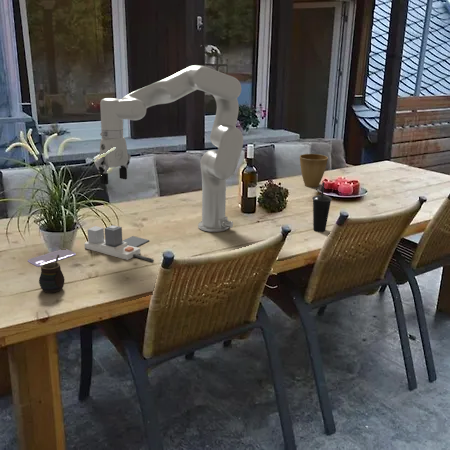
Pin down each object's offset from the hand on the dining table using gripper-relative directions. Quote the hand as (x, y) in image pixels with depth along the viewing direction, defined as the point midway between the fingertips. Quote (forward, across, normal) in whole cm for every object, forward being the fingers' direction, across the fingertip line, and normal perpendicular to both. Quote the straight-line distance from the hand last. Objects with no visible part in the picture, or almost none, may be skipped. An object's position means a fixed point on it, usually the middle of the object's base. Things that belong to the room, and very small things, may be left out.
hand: (114, 181), depth 188 cm
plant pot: (+22, +121, -28) cm, 126 cm away
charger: (+21, -8, -7) cm, 24 cm away
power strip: (+23, -8, -10) cm, 27 cm away
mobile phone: (+24, -25, +6) cm, 35 cm away
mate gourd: (+24, -41, -13) cm, 49 cm away
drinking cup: (+22, +56, -59) cm, 84 cm away
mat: (+23, +3, -7) cm, 24 cm away
